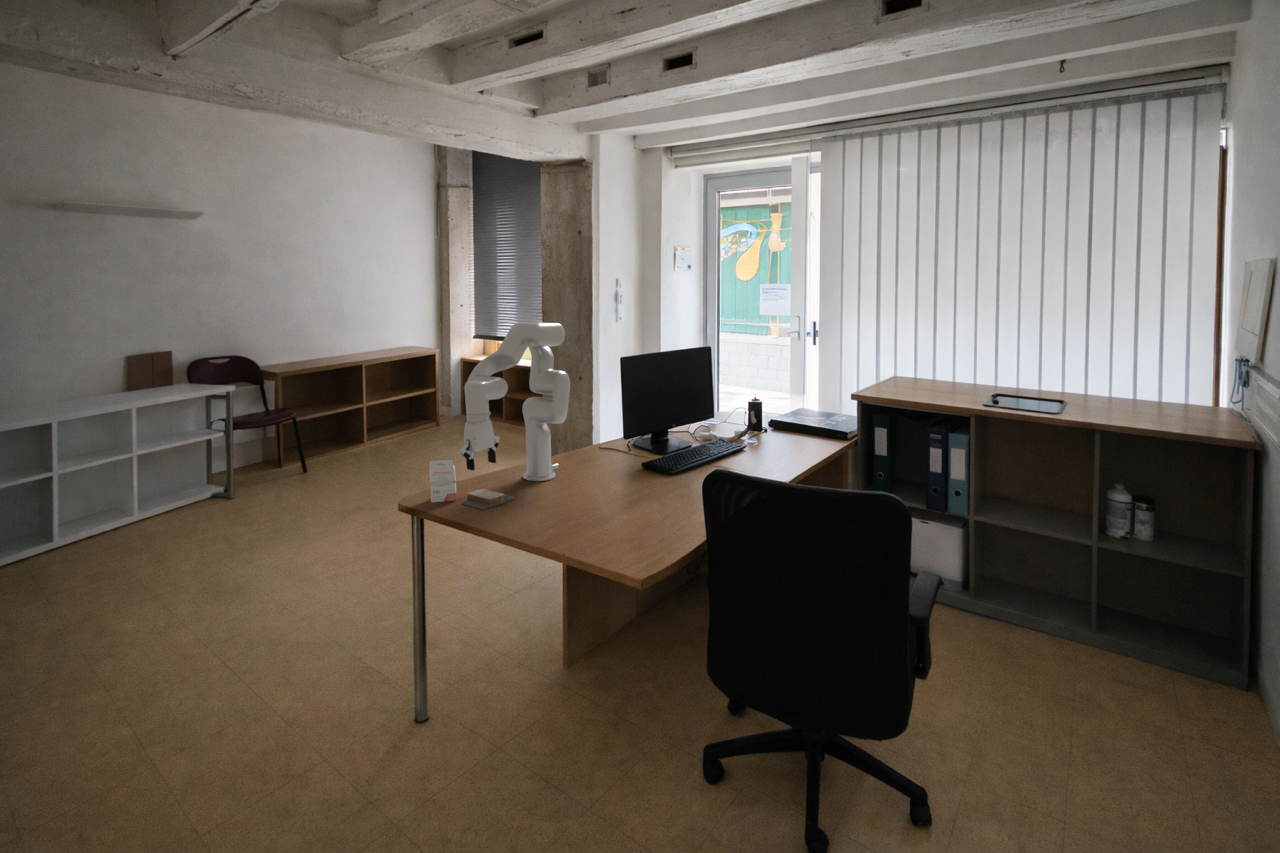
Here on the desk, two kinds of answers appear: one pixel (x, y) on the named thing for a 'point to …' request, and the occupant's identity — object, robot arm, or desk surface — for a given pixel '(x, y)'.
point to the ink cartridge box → (442, 481)
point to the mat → (482, 506)
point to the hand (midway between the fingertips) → (481, 465)
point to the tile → (486, 497)
